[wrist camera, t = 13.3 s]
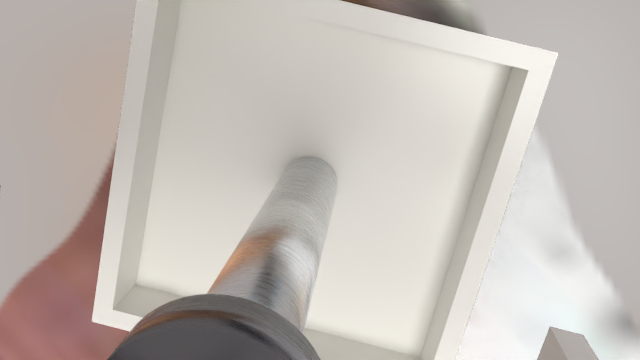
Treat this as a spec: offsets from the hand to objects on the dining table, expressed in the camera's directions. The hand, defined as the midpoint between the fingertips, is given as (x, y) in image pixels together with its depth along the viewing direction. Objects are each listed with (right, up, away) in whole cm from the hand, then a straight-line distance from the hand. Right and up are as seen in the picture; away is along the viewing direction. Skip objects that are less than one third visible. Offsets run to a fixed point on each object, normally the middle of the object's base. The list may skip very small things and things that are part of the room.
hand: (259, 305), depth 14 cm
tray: (+1, +3, +12) cm, 13 cm away
